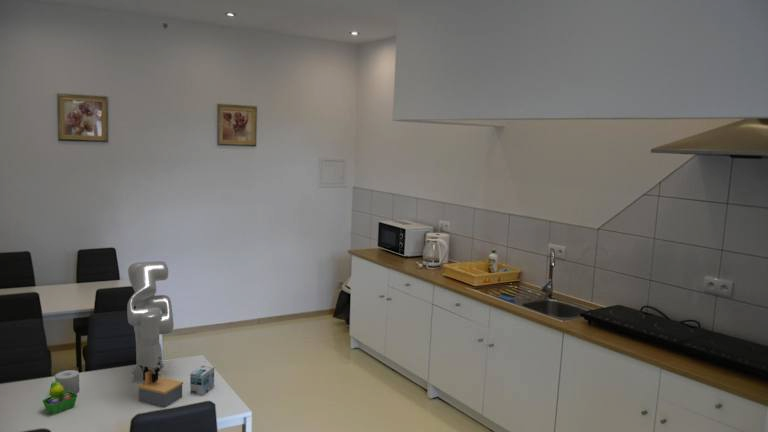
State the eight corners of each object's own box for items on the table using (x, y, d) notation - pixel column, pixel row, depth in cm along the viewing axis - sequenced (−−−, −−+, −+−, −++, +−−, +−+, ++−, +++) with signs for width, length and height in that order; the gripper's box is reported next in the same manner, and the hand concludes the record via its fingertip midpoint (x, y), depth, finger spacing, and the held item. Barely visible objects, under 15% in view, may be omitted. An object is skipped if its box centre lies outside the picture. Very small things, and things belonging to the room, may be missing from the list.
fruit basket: (51, 416, 237) (50, 390, 236) (40, 410, 242) (39, 385, 240) (78, 406, 247) (78, 381, 245) (67, 400, 251) (66, 376, 250)
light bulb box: (203, 398, 259) (203, 375, 258) (189, 396, 261) (189, 373, 259) (214, 388, 270) (214, 366, 268) (201, 386, 271) (201, 364, 269)
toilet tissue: (75, 383, 269) (75, 365, 268) (80, 394, 258) (80, 375, 257) (53, 387, 263) (52, 369, 262) (57, 398, 253) (57, 380, 252)
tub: (139, 403, 252) (138, 387, 251) (156, 393, 262) (156, 378, 261) (165, 409, 247) (164, 393, 246) (182, 399, 257) (182, 384, 256)
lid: (137, 389, 251) (137, 374, 250) (156, 379, 262) (156, 365, 261) (165, 396, 246) (164, 381, 245) (183, 385, 257) (183, 371, 256)
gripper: (128, 340, 252) (129, 380, 255) (159, 346, 247) (159, 387, 249) (141, 335, 259) (141, 373, 262) (171, 340, 254) (171, 380, 256)
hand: (150, 379), depth 255 cm, fingers open, 4 cm apart
